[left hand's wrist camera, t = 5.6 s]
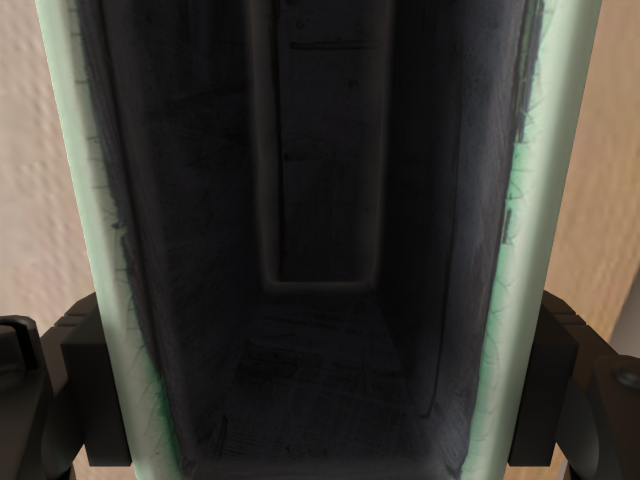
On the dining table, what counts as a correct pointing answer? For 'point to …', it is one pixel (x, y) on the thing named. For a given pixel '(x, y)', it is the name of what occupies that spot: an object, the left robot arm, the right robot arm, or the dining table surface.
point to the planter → (319, 222)
